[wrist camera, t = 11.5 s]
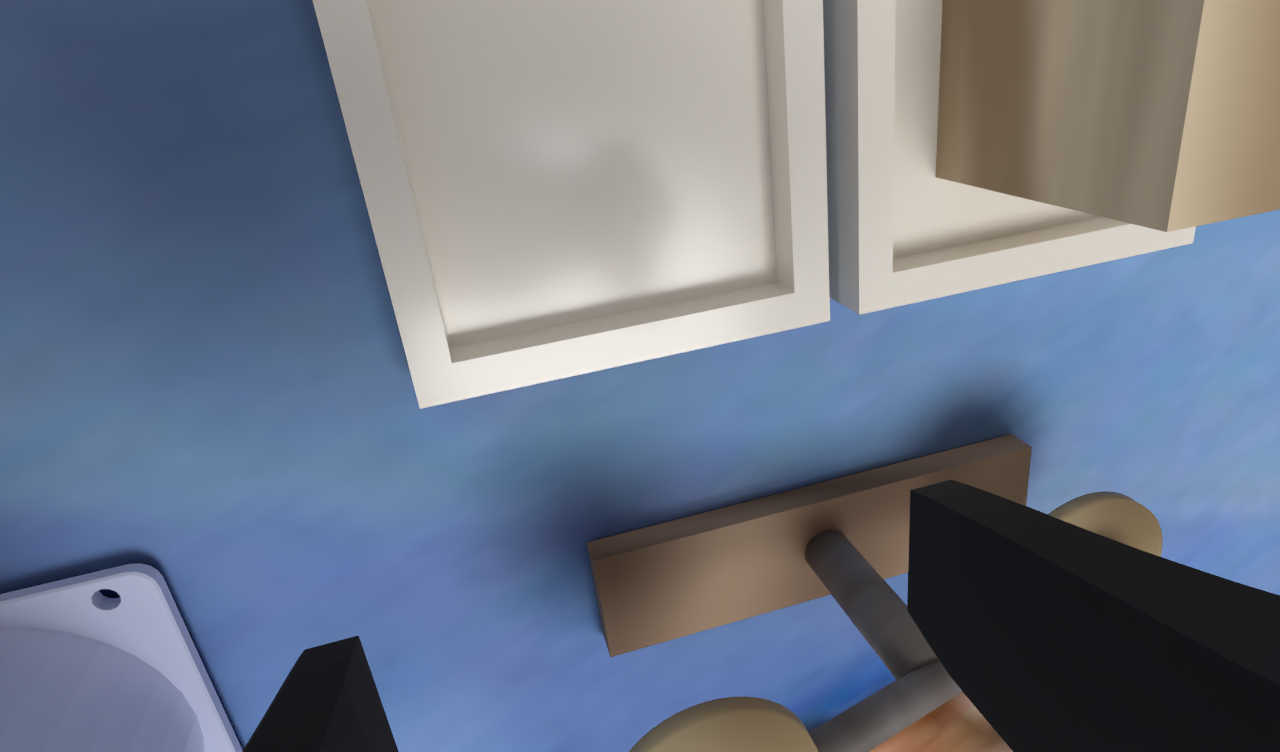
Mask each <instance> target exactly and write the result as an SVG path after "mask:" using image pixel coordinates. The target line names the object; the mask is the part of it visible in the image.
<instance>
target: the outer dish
mask: <svg viewBox="0 0 1280 752" xmlns="http://www.w3.org/2000/svg"><path fill="white" fill-rule="evenodd" d="M941 26H942V0H823V27H824V72H825V117H826V162H827V207H828V252H829V297H830V298H832V299H834V300H835V301H837V302H839V303H841V304H842V305H844V306H846V307H847V308H849V309H851V310H852V311H854V312H856V313H857V314H859V315H860V314H865V313H869V312H874V311H879V310H883V309H888V308H892V307H897V306H902V305H906V304H911V303H916V302H920V301H925V300H930V299H934V298H939V297H944V296H948V295H953V294H958V293H962V292H967V291H972V290H976V289H981V288H986V287H990V286H995V285H1000V284H1004V283H1009V282H1014V281H1018V280H1023V279H1028V278H1032V277H1037V276H1042V275H1046V274H1051V273H1056V272H1060V271H1065V270H1070V269H1074V268H1079V267H1084V266H1088V265H1093V264H1098V263H1102V262H1107V261H1112V260H1116V259H1121V258H1126V257H1130V256H1135V255H1140V254H1144V253H1149V252H1154V251H1158V250H1163V249H1168V248H1172V247H1177V246H1182V245H1186V244H1191V243H1193V240H1194V234H1195V228H1196V226H1195V227H1190V228H1185V229H1180V230H1175V231H1170V232H1164V231H1160V230H1155V229H1151V228H1147V227H1143V226H1139V225H1134V224H1130V223H1126V222H1122V221H1118V220H1113V219H1109V218H1105V217H1101V216H1096V215H1092V214H1088V213H1084V212H1080V211H1075V210H1071V209H1067V208H1063V207H1059V206H1054V205H1050V204H1046V203H1042V202H1037V201H1033V200H1029V199H1025V198H1021V197H1016V196H1012V195H1008V194H1004V193H1000V192H995V191H991V190H987V189H983V188H979V187H974V186H970V185H966V184H962V183H957V182H953V181H949V180H945V179H941V178H936V155H937V129H938V103H939V77H940V52H941Z"/></svg>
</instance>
